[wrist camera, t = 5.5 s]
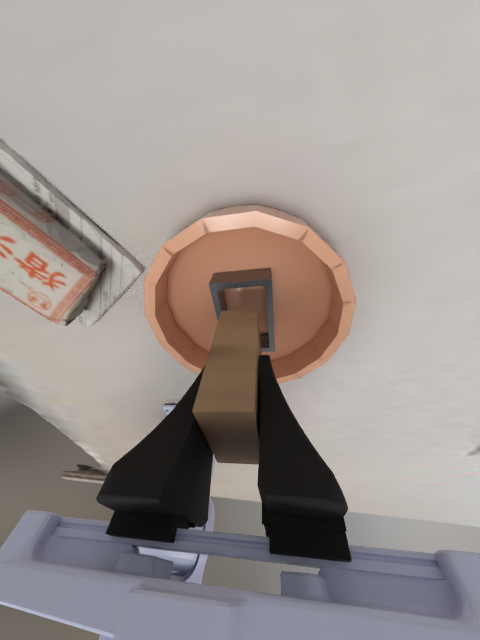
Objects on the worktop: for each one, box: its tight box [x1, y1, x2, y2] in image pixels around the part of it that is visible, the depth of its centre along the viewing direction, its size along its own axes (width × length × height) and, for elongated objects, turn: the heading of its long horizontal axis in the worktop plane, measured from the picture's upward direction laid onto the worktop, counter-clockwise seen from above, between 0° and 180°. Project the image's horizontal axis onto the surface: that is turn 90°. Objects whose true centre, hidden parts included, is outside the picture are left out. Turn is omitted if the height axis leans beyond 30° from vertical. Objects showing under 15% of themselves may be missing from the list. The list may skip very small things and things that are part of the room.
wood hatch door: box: [192, 309, 262, 464], centre depth 12 cm, size 5×2×7 cm, turn 8°
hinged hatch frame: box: [209, 267, 275, 352], centre depth 17 cm, size 7×5×2 cm, turn 8°
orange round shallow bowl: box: [144, 205, 356, 384], centre depth 18 cm, size 16×16×4 cm
